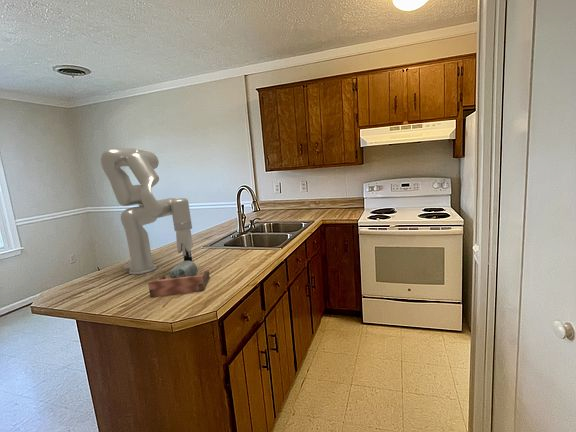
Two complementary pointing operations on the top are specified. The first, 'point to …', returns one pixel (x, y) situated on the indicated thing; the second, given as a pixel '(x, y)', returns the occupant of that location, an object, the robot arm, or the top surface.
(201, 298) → the top surface
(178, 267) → the grey rounded piece
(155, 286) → the guide channel
